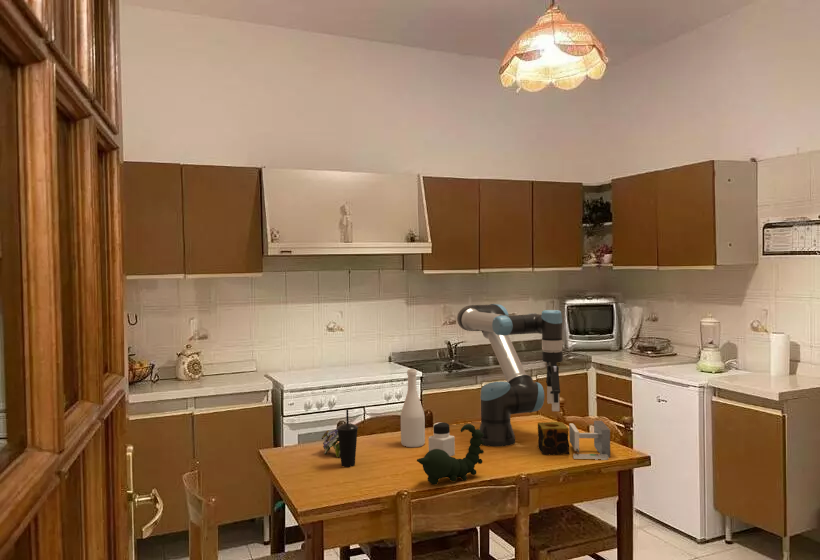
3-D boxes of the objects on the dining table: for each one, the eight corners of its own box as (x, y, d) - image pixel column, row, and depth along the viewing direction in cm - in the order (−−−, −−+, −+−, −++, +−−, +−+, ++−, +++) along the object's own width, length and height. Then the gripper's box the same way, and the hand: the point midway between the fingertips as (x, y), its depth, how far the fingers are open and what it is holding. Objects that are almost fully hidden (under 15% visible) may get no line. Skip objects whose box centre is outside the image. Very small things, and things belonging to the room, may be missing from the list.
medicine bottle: (455, 455, 237) (454, 423, 237) (442, 459, 232) (442, 426, 232) (440, 451, 242) (440, 420, 242) (428, 455, 237) (427, 423, 236)
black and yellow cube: (569, 455, 235) (569, 428, 235) (542, 455, 235) (542, 428, 235) (563, 447, 245) (563, 421, 245) (537, 447, 245) (537, 422, 245)
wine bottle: (429, 445, 251) (428, 369, 250) (409, 449, 245) (408, 372, 245) (416, 440, 259) (414, 366, 258) (396, 444, 253) (395, 369, 253)
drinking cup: (342, 469, 222) (341, 412, 221) (334, 463, 229) (333, 408, 228) (362, 466, 225) (361, 410, 225) (353, 460, 232) (353, 406, 232)
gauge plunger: (576, 453, 230) (576, 434, 230) (569, 441, 246) (569, 423, 246) (608, 453, 229) (608, 434, 229) (599, 441, 245) (599, 423, 245)
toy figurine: (470, 475, 218) (407, 482, 206) (473, 420, 219) (411, 423, 206) (487, 483, 210) (422, 490, 198) (490, 426, 211) (426, 429, 198)
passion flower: (326, 468, 241) (317, 439, 247) (353, 459, 245) (343, 430, 251) (329, 458, 232) (319, 428, 237) (357, 449, 236) (347, 420, 241)
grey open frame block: (574, 459, 229) (573, 432, 229) (566, 446, 246) (566, 420, 246) (612, 460, 228) (612, 432, 228) (602, 446, 245) (601, 420, 245)
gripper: (567, 355, 227) (568, 414, 227) (557, 347, 251) (558, 400, 252) (546, 355, 227) (547, 414, 227) (538, 347, 252) (539, 400, 252)
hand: (553, 407), depth 240 cm, fingers open, 13 cm apart
